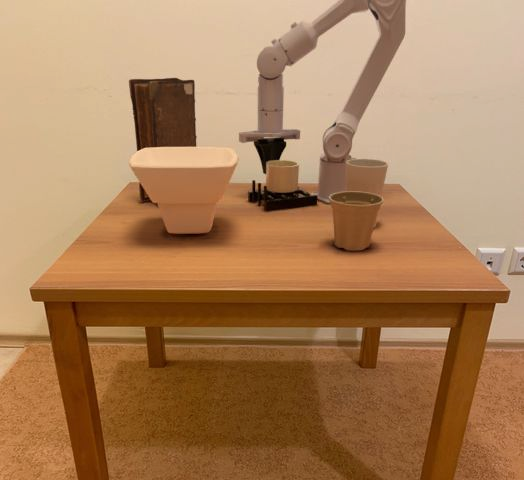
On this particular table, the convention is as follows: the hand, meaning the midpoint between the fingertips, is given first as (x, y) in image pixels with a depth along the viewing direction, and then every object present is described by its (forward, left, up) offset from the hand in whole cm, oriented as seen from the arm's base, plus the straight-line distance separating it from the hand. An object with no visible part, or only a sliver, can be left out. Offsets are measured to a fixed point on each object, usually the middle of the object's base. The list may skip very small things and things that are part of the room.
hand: (269, 173), depth 120 cm
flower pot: (+2, +38, -6) cm, 38 cm away
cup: (-7, +28, -6) cm, 29 cm away
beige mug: (0, +5, -2) cm, 5 cm away
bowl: (+26, +18, -6) cm, 32 cm away
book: (+21, -8, -6) cm, 23 cm away
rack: (0, +7, -5) cm, 9 cm away
